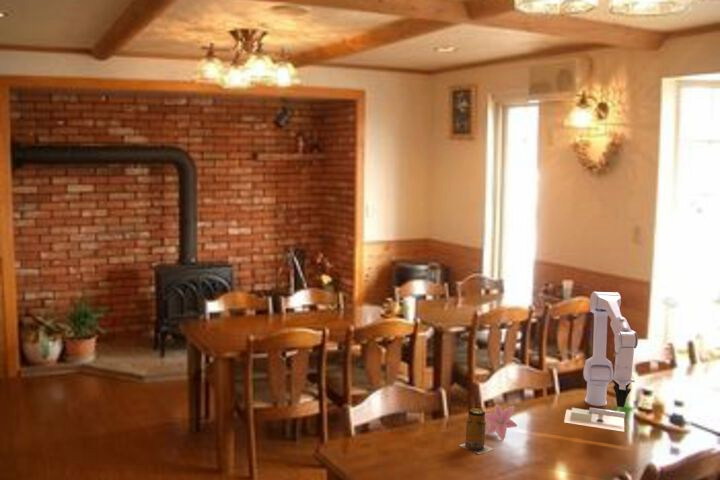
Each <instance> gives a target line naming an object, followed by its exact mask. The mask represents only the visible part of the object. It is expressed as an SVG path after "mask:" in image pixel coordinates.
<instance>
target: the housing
mask: <svg viewBox="0 0 720 480" xmlns="http://www.w3.org/2000/svg"><path fill="white" fill-rule="evenodd" d="M571 410H572V409H566V410H565V415H564V420H563V421H564V422H563V423H565V424H567V423H568V424H571V425H580V426H583V427H584V426H586V427H589V428H590V427H591V428H592V427H593V428H597V429H599V428H600V429H604V430H612V431H618V432H623V433H624V432H625V417H618V416H611V415H604V414H603V421H598V413H592V419H591V422H588V421H581V420H574V419H571Z"/></svg>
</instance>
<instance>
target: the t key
mask: <svg viewBox="0 0 720 480" xmlns="http://www.w3.org/2000/svg"><path fill="white" fill-rule="evenodd" d="M588 410H589V412H591V413H593V414H598V421H603V415H607V416H614V417H620V418H625V417H626V411H625V412H624V411H616V410H610V409H605V408H603V409H602V408H596V407H591V406H590V407H589V409H588Z"/></svg>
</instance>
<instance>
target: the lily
mask: <svg viewBox="0 0 720 480" xmlns="http://www.w3.org/2000/svg"><path fill="white" fill-rule="evenodd" d="M515 408H516V407H515V405H511V406H508V407H506V408H504V409H502V408H501V406H500V405H499V404H498V403H496V404H495V407H494V412H487V413H486V412H485V420H486V423H487V424H488V425H489V426H488V428H487V430H486V432H485V435H490V434H492V433H494V432H495V433H496V434H497V436H498V437H499V439H500V440H501V441H505V437H506V434H507V430H508V428H510V429H511V428H516V427H518V424H517V423H516V422H514V420H512V419H511V417H512V415H513V412H514V410H515Z"/></svg>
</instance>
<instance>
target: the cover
mask: <svg viewBox="0 0 720 480" xmlns="http://www.w3.org/2000/svg"><path fill="white" fill-rule="evenodd" d="M570 410H571V419H574V420H581V421H588V422H591V419H592V413H591V412H589V409H583V408H576V407H571V409H570Z"/></svg>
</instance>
